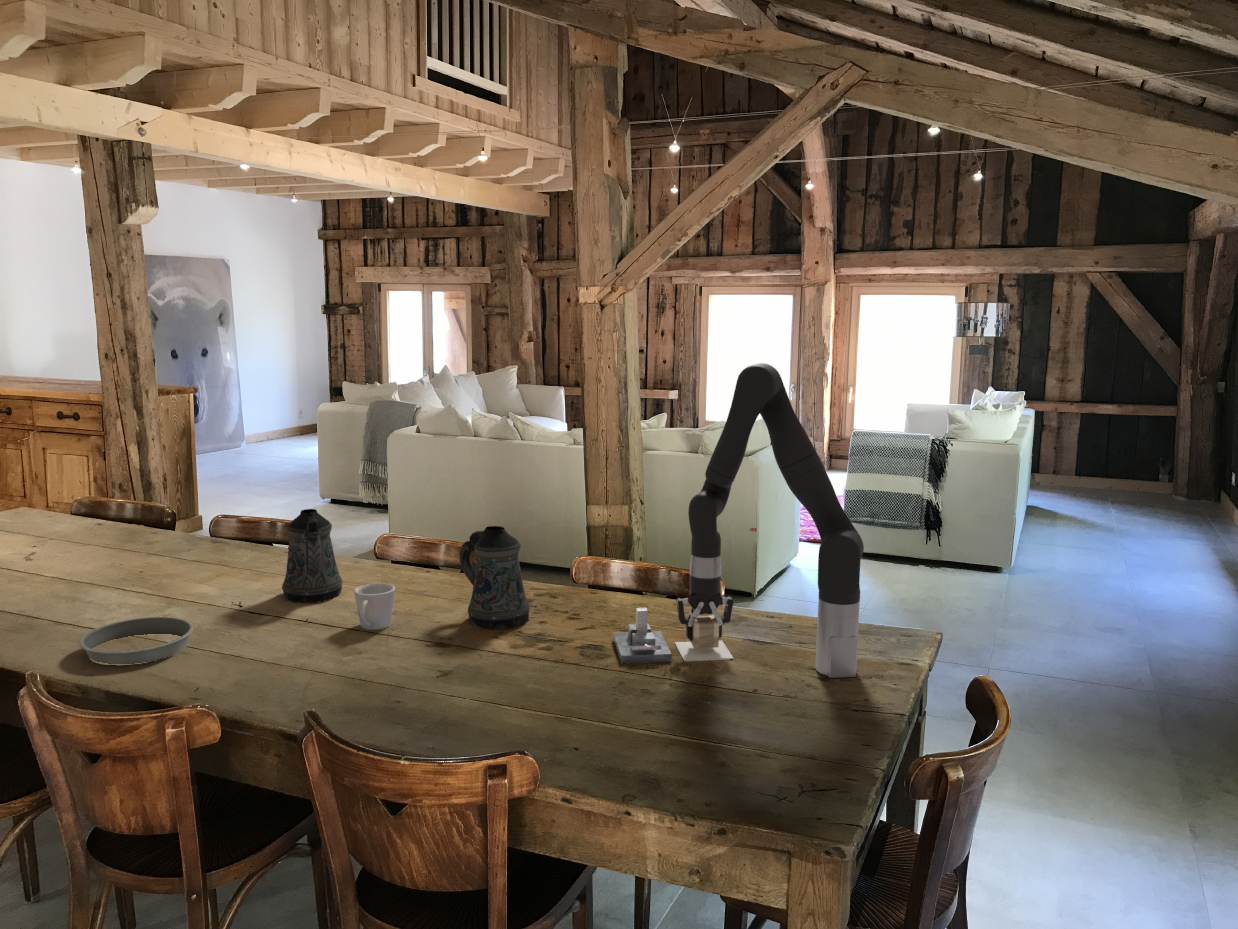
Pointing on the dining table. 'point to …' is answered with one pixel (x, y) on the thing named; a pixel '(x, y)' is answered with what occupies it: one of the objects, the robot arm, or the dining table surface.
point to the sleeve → (705, 632)
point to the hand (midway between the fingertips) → (703, 639)
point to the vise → (641, 642)
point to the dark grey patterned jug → (311, 560)
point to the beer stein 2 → (495, 580)
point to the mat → (703, 652)
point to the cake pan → (137, 628)
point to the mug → (375, 605)
